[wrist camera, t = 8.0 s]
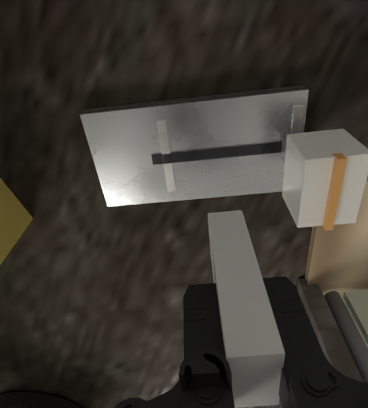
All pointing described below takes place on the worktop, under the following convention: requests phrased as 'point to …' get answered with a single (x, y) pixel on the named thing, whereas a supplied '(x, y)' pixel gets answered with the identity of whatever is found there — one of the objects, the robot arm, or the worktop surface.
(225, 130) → the fader console
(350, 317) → the door
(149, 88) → the worktop surface
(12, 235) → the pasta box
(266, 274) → the worktop surface
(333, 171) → the fader cap
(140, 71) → the worktop surface
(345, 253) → the base
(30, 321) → the worktop surface
